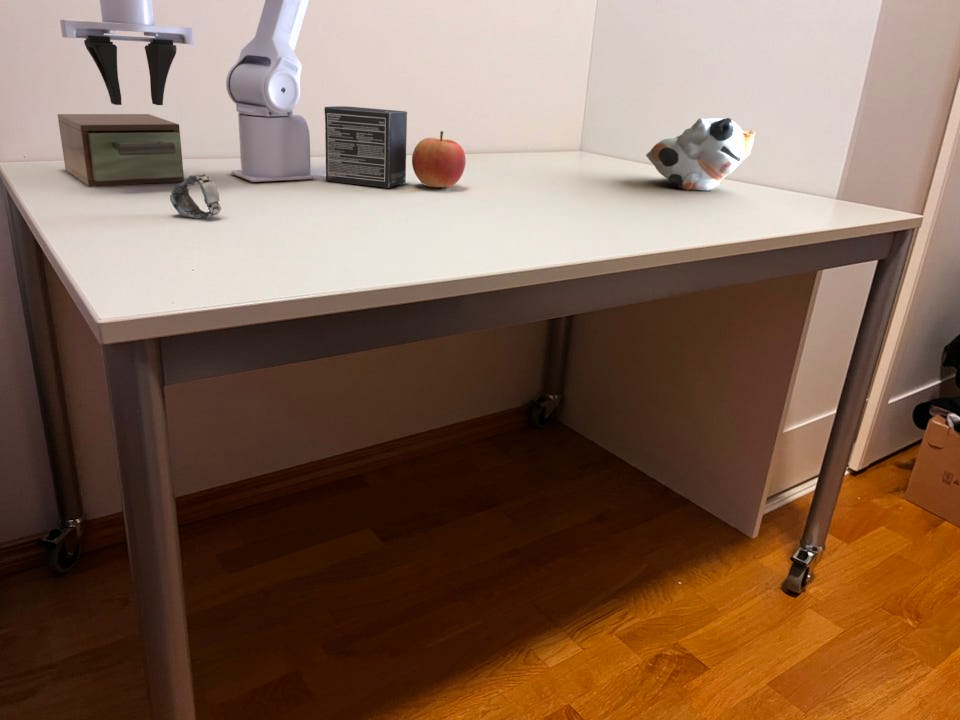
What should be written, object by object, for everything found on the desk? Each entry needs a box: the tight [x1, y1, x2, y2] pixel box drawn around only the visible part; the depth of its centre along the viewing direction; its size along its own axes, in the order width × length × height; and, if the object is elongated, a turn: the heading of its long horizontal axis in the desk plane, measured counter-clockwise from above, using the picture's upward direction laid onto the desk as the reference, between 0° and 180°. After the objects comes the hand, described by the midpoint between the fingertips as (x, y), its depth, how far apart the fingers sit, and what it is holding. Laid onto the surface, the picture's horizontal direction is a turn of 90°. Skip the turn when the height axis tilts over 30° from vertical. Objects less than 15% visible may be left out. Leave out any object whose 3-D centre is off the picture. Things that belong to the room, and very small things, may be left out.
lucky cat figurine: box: [645, 117, 756, 191], centre depth 126 cm, size 15×12×14 cm
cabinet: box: [57, 113, 185, 187], centre depth 105 cm, size 14×12×8 cm
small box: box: [323, 105, 408, 189], centre depth 111 cm, size 11×6×10 cm, turn 71°
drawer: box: [88, 131, 184, 181], centre depth 101 cm, size 17×11×6 cm, turn 38°
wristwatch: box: [169, 173, 222, 219], centre depth 84 cm, size 3×5×5 cm
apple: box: [411, 130, 467, 188], centre depth 111 cm, size 8×8×8 cm
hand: (137, 104), depth 94 cm, fingers open, 4 cm apart
